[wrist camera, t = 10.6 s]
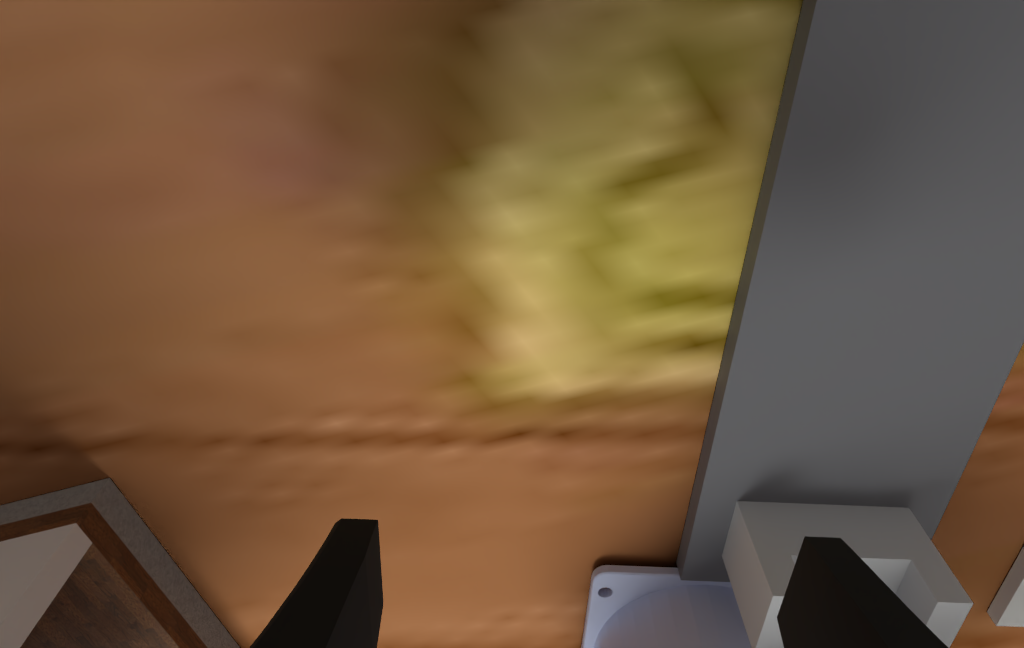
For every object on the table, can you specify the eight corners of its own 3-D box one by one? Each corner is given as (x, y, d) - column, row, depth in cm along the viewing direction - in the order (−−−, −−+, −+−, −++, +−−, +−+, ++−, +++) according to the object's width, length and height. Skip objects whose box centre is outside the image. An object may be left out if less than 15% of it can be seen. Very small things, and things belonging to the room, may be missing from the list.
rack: (897, 570, 25) (967, 688, 21) (676, 562, 25) (705, 679, 21) (1288, -302, 14) (1600, -394, 10) (876, -325, 13) (1024, -428, 10)
